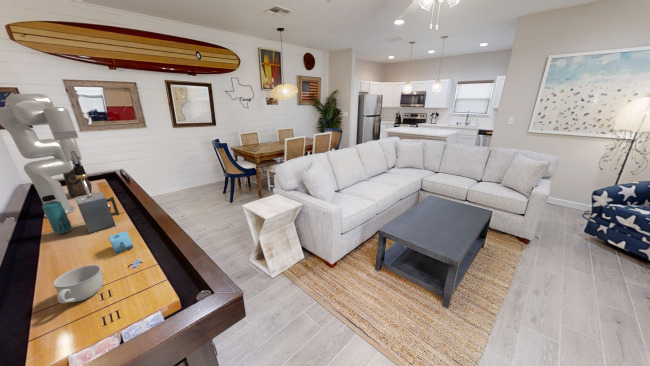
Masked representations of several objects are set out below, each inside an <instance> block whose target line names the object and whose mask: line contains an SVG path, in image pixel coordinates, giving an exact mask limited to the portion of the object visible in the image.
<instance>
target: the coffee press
mask: <svg viewBox="0 0 650 366" xmlns="http://www.w3.org/2000/svg"><path fill="white" fill-rule="evenodd" d="M104 195H105V194H104V193H103V191H97V192H94V193H93V192H92V193H91V197H89V198H88V196H87V195H84V196H79V197H75V199H74V200H75V202H76V205H77V207H78V209H79V211H80V214H81V216H82V219H83V221H84V224H85V226H86V228H87V231H88V234H89V235H92V234H95V232H96V233H99V232H102V231H105V230H107V229H111V228H113V227H114V228H115V227H117V224H116V223H115V220H114V217H113V216H120V212H119V209H118V206H117V204H116V201H115V198H114V196H110V198H106V195H105V196H104ZM109 202H111V205H112V208H113V210H114V212H111V210H110V209H109V206H110V205H109V206H108V204H109ZM101 230H102V231H101ZM98 231H99V232H98Z"/></svg>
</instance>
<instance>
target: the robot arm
mask: <svg viewBox="0 0 650 366" xmlns="http://www.w3.org/2000/svg"><path fill="white" fill-rule="evenodd" d="M5 103H6V104H7V106H3V107H2V106H1V107H0V125H1V126H2V128H3V129H5V131H7V132H8V134H9V135H10V137H11V138H12V140H13V141H14V144H15V146H16V148H17V150H18V152H19V154H20V155H21V157H23V158H24V159H28V160H33V159H34V160H33V161H30V162H28V163H26V164H24V166H23V170H24V172H25V174H26V175H27V176H28V178H29V179H30V180H31V182H32V184H33V186H34V188H35V189H36V191H37V194H38V196H39V198H40V200H41V202H42V206H43V205H44V204H45V203H47V202H51V201H47V202H43V200H42V197H44V196H47V195H54V196H55V198H56V199H55V200H52V201H59V202H61V204H62V206H63V208H64V210H65V212H66V215H67V214H71V213H72V212H74V211H75V210H76V208H75V206H71V204H70V203H69V200H68V197H67V194H66V192H65V190H64V189H63V186H62V184H61V182H60V181H59V180H58V179H54V178H52V177H54V176H59V175H63V174H64V173H68V172H70V171H71V170H72V168H74V171H75V173H76V175H83V174H87V172H86V170H85V169H84V166H83V165H82V162H81V161H83V160H82V154H81V151H80V148H79V145H78V143H77V140H76V139H79V136H78V132H77V130H76V127H75V125H74V123H73V119H72V117H71V115H70V112H69V110H68V108H66V107H65V106H64V107H63V106H55V105H54V103H53V101H52V99H51V98H50V97H48V95H45V94H42V93H41V94H40V93H13V94H10V95H8V96H7V97H6V100H5ZM44 125H48V127H49V129H50V132H51V134H52V137H53V138H43V139H40V138H39V137H38V135H37V133H36V131H35V130H34V129H33V128H31V127H30V126H44ZM47 157H53V158H47ZM40 158H46V159H40ZM35 159H40V160H35ZM85 172H86V173H85ZM43 216H44V218H47V216H46V214H45V213H44V214H43Z"/></svg>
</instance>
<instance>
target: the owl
mask: <svg viewBox="0 0 650 366" xmlns="http://www.w3.org/2000/svg"><path fill="white" fill-rule="evenodd" d="M85 173H86V174H87V172H86V171H85ZM62 175H63V178H64V182H65V187H66V188H67V192H68V195H69V196H70V197H71V198H72V197H73V199H74V198H75V197H79V196H84V195H87V193H86V191H85V188H84V186H83V183H82V181H81V179H77V177H76V173H75V171H74V168H73V167H72V170H71V171H70V172H68V173H64V174H62ZM84 179H85V181H86V184H87V186H88V189H89V192H90V193H91V191H92V190H93V189H92V188H93V187H92V183H91V181H90V180H88V177H87V178H84ZM91 194H92V193H91Z"/></svg>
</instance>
